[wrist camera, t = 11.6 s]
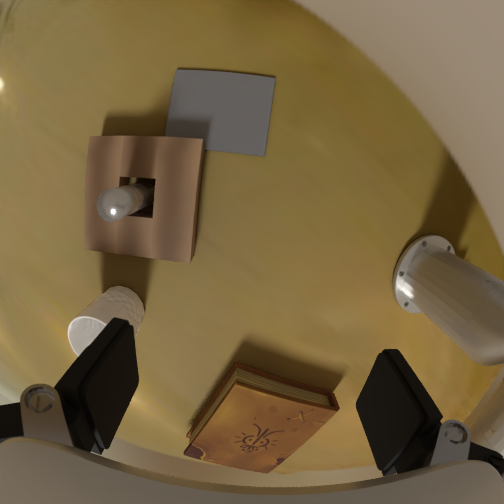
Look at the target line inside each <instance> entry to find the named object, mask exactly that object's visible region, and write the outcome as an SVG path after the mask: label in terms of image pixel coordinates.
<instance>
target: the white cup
mask: <svg viewBox="0 0 504 504" xmlns="http://www.w3.org/2000/svg"><path fill="white" fill-rule="evenodd" d="M144 313H145V312H144V306H143V303H142V301H141V299H140V298H139V296H138V295H137V294H136V293H135V292H133V291H132V290H131V289H129V288H127V287H123V286H115V287H110V288H109V289H108V290H107V291H106V292H105V293H103V294H102V295H101V296H99V297H98V298H96V299H95V300H94V301H93V302H92V303H90V304H89V305H88V306H87V307H86V308H85V309H84V310H83V311H82V312H81V313H79V314H78V315H77V316H76V317H75V318H74V319H73V320H72V321H71V322H70V324H69V327H68V339H69V342H70V345H71V347H72V349H73V350H74V352H75V353H76V354H77V356H78V357H79V355H80V354H81V353H82V352H83V350H84V349H85V348H86V347H87V346H89V345H90V344H91V343H92V342H93V341H94V339H95V338H96V337H97V336H98V335H99V333H100V332H101V331H102V330H103V329H104V327H105V326H106V325H107V324H108V323H109V322H110V321H111V319H112V318H114V317H116V318H121V319H125V320H128V321H129V323H130V325H133V327H134V338H135V337H136V335H137V333H138V330H139V328H140V324H141V322H142V320H143V317H144Z"/></svg>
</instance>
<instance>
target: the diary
mask: <svg viewBox="0 0 504 504" xmlns="http://www.w3.org/2000/svg"><path fill="white" fill-rule="evenodd" d="M339 409H340V408H339V405H338V403H337V400H336V397H335V395H334V393H333V392H332V391H328V390H325V389H321V388H317V387H313V386H310V385H306V384H303V383H299V382H296V381H292V380H289V379H286V378H283V377H279V376H276V375H273V374H270V373H267V372H264V371H261V370H258V369H255V368H252V367H249V366H246V365H243V364H241V363H238V362H235V363H234V365H233V366H232V368H231V369H230V371H229V372H228V374H227V376H226V377H225V379H224V380H223V382H222V383H221V385H220V386H219V388H218V389H217V391H216V392H215V394H214V395H213V397H212V398H211V400H210V401H209V403H208V404H207V406H206V407H205V409H204V410H203V412H202V413H201V415H200V416H199V418H198V419H197V421H196V422H195V424H194V425H193V427H192V428H191V429H190V431H189V432H188V434H187V435H186V437H188V438H190V441H189V445H188V447H187V448H186V449H185V451H184V455H186V456H189V457H193V458H196V459H200V460H204V461H207V462H211V463H215V464H220V465H224V466H229V467H233V468H238V469H244V470H249V471H255V472H261V473H269V472H270V471H272V470H273V469H274V468H276V467H277V466H278V465H279V464H281V463H282V462H283V461H284V460H285V459H287V458H288V457H289V456H290V455H291V454H293V453H294V452H295V451H296V450H297V449H298V448H299V447H301V446H302V445H303V444H304V443H305V442H306V441H307V440H308V439H310V438H311V437H312V436H313V435H314V434H315V433H316V432H317V431H318V430H319V429H320V428H321V427H322V426H323V425H324V424H325V423H326V422H327V421H328V420H329V419H330V418H331V417H332V416H333V415H334V414H335V413H336V412H337V411H338V410H339Z"/></svg>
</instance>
